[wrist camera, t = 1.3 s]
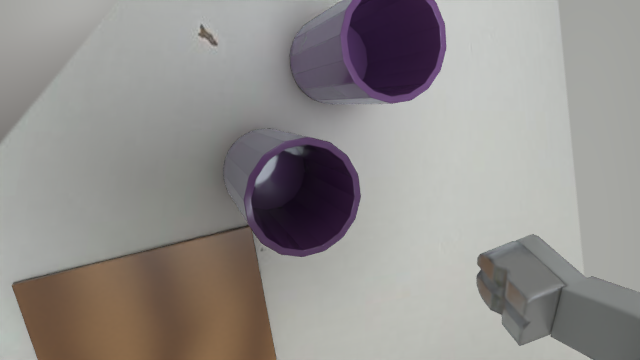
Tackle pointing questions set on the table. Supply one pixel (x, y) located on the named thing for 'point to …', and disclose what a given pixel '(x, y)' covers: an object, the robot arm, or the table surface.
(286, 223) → the cup
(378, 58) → the cup
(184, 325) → the mat
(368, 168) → the table surface
